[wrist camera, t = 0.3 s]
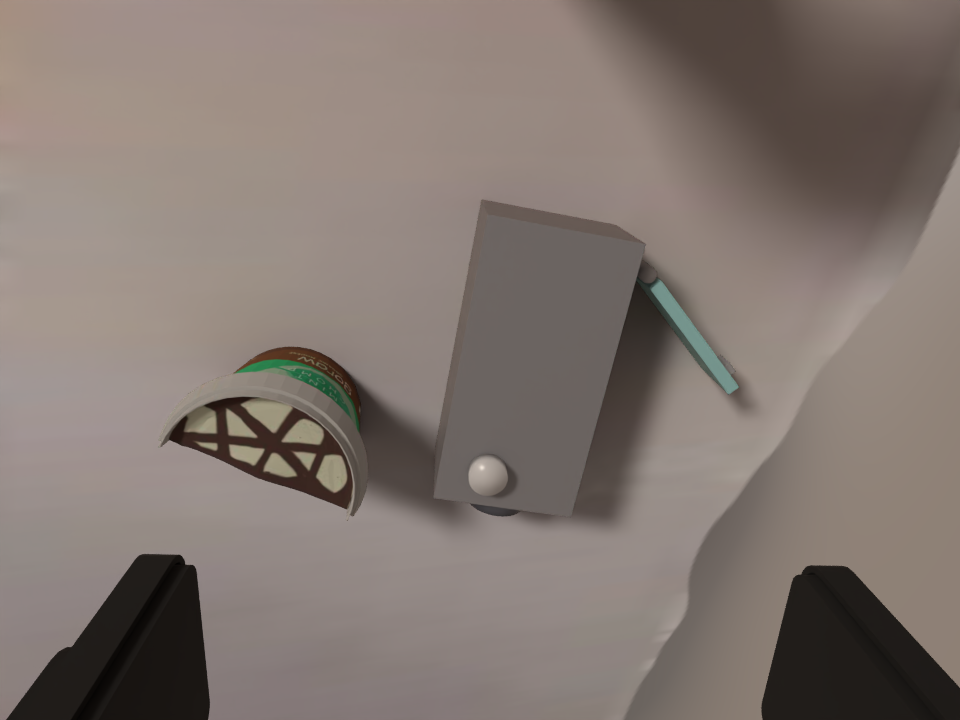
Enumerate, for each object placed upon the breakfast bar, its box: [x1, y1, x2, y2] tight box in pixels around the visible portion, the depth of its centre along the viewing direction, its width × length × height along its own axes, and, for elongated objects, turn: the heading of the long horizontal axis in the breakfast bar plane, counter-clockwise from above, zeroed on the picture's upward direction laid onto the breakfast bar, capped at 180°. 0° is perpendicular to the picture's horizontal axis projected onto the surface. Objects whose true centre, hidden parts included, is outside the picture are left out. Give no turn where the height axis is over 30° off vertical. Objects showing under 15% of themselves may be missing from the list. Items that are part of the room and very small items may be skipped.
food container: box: [158, 347, 368, 521], centre depth 41 cm, size 12×6×10 cm, turn 63°
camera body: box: [433, 200, 646, 517], centre depth 42 cm, size 20×10×8 cm, turn 169°
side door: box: [636, 260, 739, 395], centre depth 43 cm, size 10×2×5 cm, turn 39°
